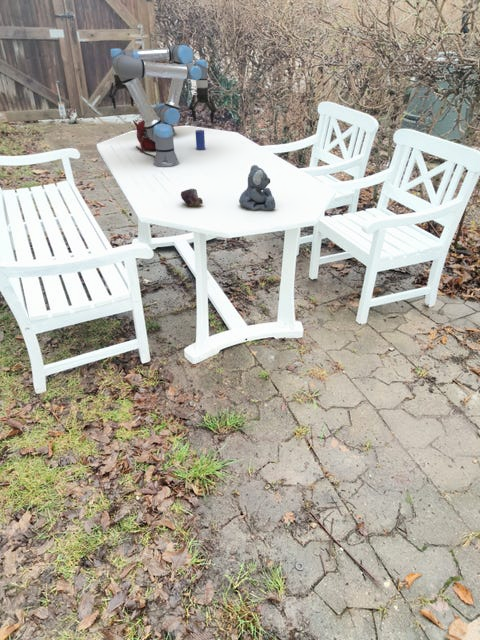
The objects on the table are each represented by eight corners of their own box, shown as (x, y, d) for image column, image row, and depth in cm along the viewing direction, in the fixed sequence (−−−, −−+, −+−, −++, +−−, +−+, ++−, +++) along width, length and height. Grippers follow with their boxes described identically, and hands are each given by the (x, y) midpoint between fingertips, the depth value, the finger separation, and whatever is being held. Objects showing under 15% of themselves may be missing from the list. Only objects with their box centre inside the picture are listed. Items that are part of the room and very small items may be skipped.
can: (204, 150, 323) (203, 131, 315) (195, 150, 323) (194, 131, 316) (205, 148, 328) (204, 130, 321) (197, 147, 328) (196, 129, 321)
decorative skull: (136, 123, 331) (129, 120, 308) (167, 116, 330) (163, 112, 307) (144, 153, 338) (138, 152, 315) (174, 146, 337) (171, 145, 314)
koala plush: (276, 211, 223) (277, 171, 212) (240, 212, 222) (240, 172, 211) (271, 199, 237) (272, 161, 226) (237, 200, 236) (237, 162, 225)
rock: (196, 202, 238) (178, 205, 233) (194, 185, 234) (176, 188, 230) (205, 205, 228) (187, 208, 224) (203, 188, 224) (185, 191, 220)
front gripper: (221, 87, 291) (222, 122, 303) (188, 85, 300) (190, 119, 312) (216, 89, 285) (216, 124, 297) (182, 86, 294) (184, 121, 306)
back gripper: (103, 75, 307) (109, 109, 319) (137, 73, 319) (141, 106, 331) (100, 74, 313) (105, 108, 325) (133, 72, 324) (137, 104, 336)
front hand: (203, 122), depth 304 cm, fingers open, 13 cm apart
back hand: (123, 107), depth 328 cm, fingers open, 13 cm apart
